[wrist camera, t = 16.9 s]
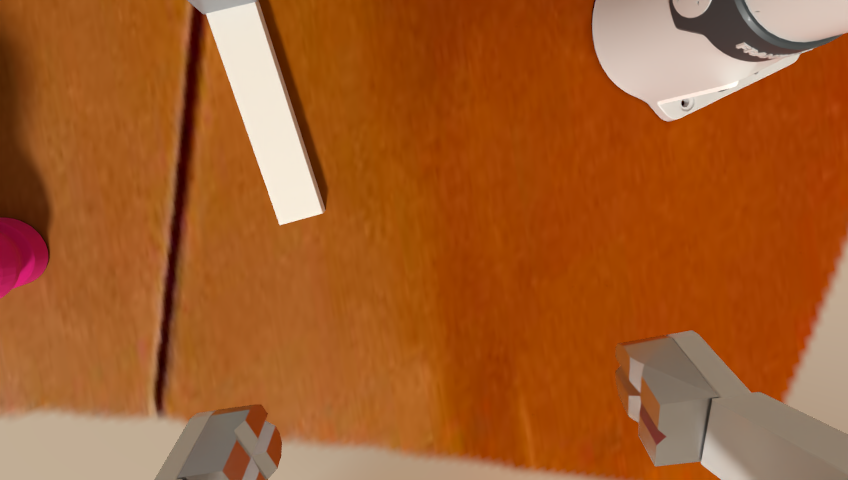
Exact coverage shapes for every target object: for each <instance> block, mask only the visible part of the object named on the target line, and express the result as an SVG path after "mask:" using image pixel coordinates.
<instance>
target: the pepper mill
mask: <svg viewBox="0 0 848 480" xmlns="http://www.w3.org/2000/svg"><path fill="white" fill-rule="evenodd" d="M47 263H48V250H47V246H46V243H45V242H44V240H43V238H42V237H41V235H40V234H39V233H38V232H37V231H36V230H35V229H34V228H32V227H31V226H30V225H28V224H26V223H24V222H22V221H19V220H16V219H13V218H5V217H3V218H0V298H2V297H3V296H5V295H6V294H7V293H8V292H9V291H10V290H11V289H13V288H16V287H19V286H21V285H24V284H27V283H30V282H32V281H34V280H35V279H37V278H38V277H39V276H40V275H41V274H42V273H43V272H44V270H45V269H46V266H47Z"/></svg>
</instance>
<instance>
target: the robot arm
mask: <svg viewBox="0 0 848 480" xmlns="http://www.w3.org/2000/svg"><path fill="white" fill-rule="evenodd" d="M592 33H593V41H594V46H595V50H596V53H597V56H598V59H599V61H600V63H601V66H602V67H603V69H604V71H605V72H606V74H607V75H608V76H609V78H610V79H611V80H612V81H613V82H614V83H615V84H616V85H617V86H618V87H619V88H621V89H622V90H623V91H625V92H626V93H628V94H630V95H632V96H635V97H637V98H639V99H641V100H643V101H645V102H646V103H648V104H649V105H650V107H651V108H652V109H653V110H654V112H655V113H656V114H657V115H658V116H659V117H660V118H661V119H663V120H665V121H673V120H676V119H679V118H682V117H684V116H686V115H688V114H690V113H692V112H694V111H696V110H698V109H700V108H702V107H704V106H706V105H708V104H710V103H713V102H715V101H717V100H719V99H721V98H723V97H725V96H727V95H729V94H731V93H733V92H735V91H737V90H739V89H741V88H743V87H745V86H748V85H750V84H752V83H754V82H756V81H758V80H760V79H762V78H764V77H766V76H768V75H770V74H772V73H774V72H776V71H778V70H781V69H783V68H785V67H787V66H789V65H791V64H792V63H794V62H795V61H796V60H797V59H798V57H799V55H800V53H804V52H806V51H809V50H812V49H813V48H816V47H818V46H821V45H824V44H827V43H828V42H830V41H832V40H834V39H836V38H838V37H839V36H841V35H842V34H844V33H848V0H596V1H595V5H594V11H593V19H592ZM682 100H683V101H684V105H683V106H682V105H681V102H682ZM616 358H617V360H618V362H619V363H620V365H621V366H620V367H619V368H618V369H617V370H616V385H617V389H618V393H619V397H620V399H621V402H622V404H623V406H624V408H625V410H626V412H627V414H628V416H629V417H631V418H632V419H634V420H635V421H637V422H638V423H639V437H640V439H641V441H642V443H643V445H644V446H645V448H646V450H647V452H648V454H649V456H650V458H651V460H652V461H653V463H654V465H655V466H662V465H672V464H681V463H690V462H699V461H701V464H702V465H703V466H704V467H706V468H707V469H708V470H710V471H711V472H712V473H713V474H715V475H716V476H717V477H719V478H720V479H721V480H848V434H846V433H844V432H842V431H840V430H837V429H835V428H833V427H831V426H829V425H827V424H825V423H823V422H821V421H819V420H817V419H815V418H813V417H811V416H809V415H807V414H804V413H802V412H800V411H798V410H796V409H794V408H792V407H790V406H788V405H786V404H784V403H782V402H780V401H778V400H776V399H773V398H771V397H769V396H767V395H765V394H763V393H761V392H755V393H751V392H750V391H749V390H748V389H747V388H746V386H745V385H744V384H743V383H742V382H741V381H740V380H739V379H738V378H737V376H736V375H735V374H734V373H733V372H732V371H731V370H730V369H729V368H728V366H727V365H726V364H725V363H724V362H723V361H722V360H721V359H720V358H719V356H718V355H717V354H716V353H715V352H714V351H713V350H712V349H711V348H710V346H709V345H708V344H707V343H706V342H705V341H704V340H703V339H702V338H701V336H700V335H699V334H698V333H696V332H694V331H686V332H681V333H675V334H669V335H666V336H665V335H662V336H657V337H651V338H646V339H640V340H634V341H629V342H623V343H618V344H617V346H616ZM267 414H268V413H267V412H266V411H265V409H264V408H263V406H262V405H249V406H242V407H235V408H227V409H220V410H215V411H208V412H201V413H197V414H196V415H194V416H193V417H192V418H190V420H189V422H188V423H187V425H186V427H185V429H184V430H183V432H182V434H181V435H180V437H179V439H178V440H177V442H176V444H175V446H174V447H173V449H172V451H171V452H170V454H169V456H168V457H167V459H166V461H165V463H164V464H163V466H162V468H161V469H160V471H159V473H158V475H157V476H156V478H155V480H268V478H269V477H270V476H271V475H272V474H273V473H274V472H275V470H276V469H277V468H278V464H279V461H280V458H281V449H282V441H281V437H280V433H279V431H278V430H277V428H276V426H274V425H272V424H271V423H269V422H267V421H265V420H266V417H267Z"/></svg>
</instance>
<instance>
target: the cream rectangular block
mask: <svg viewBox="0 0 848 480" xmlns="http://www.w3.org/2000/svg"><path fill="white" fill-rule="evenodd" d="M187 1H189V2H190V3H191V4H192V5H193V6H194V7H196V8H197V9H198V10H199V11H200V12H201V13H203V14H206V15H207V18H208V21H209V24H210V27H211V30H212V32H213V35H214V38H215V41H216V44H217V47H218V50H219V52H220V55H221V58H222V61H223V64H224V67H225V70H226V73H227V75H228V78H229V81H230V84H231V87H232V90H233V93H234V95H235V98H236V101H237V104H238V107H239V110H240V113H241V116H242V118H243V121H244V124H245V127H246V130H247V133H248V136H249V138H250V141H251V144H252V147H253V150H254V153H255V156H256V159H257V161H258V164H259V167H260V170H261V173H262V176H263V179H264V181H265V184H266V187H267V190H268V193H269V196H270V199H271V202H272V204H273V207H274V210H275V213H276V216H277V219H278V222H279V224H280V225H282V224H286V223H289V222H293V221H297V220H300V219H304V218H308V217H311V216H315V215H319V214H322V213H324V211H325V207H324V204H323V201H322V198H321V195H320V192H319V188H318V185H317V182H316V179H315V176H314V173H313V170H312V166H311V163H310V160H309V157H308V154H307V151H306V148H305V145H304V141H303V138H302V135H301V132H300V129H299V126H298V123H297V119H296V116H295V113H294V110H293V107H292V104H291V101H290V98H289V94H288V91H287V88H286V85H285V82H284V79H283V76H282V73H281V69H280V66H279V63H278V60H277V57H276V54H275V51H274V47H273V44H272V41H271V38H270V35H269V32H268V29H267V26H266V22H265V19H264V16H263V13H262V10H261V7H260V4H259V0H187Z"/></svg>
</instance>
